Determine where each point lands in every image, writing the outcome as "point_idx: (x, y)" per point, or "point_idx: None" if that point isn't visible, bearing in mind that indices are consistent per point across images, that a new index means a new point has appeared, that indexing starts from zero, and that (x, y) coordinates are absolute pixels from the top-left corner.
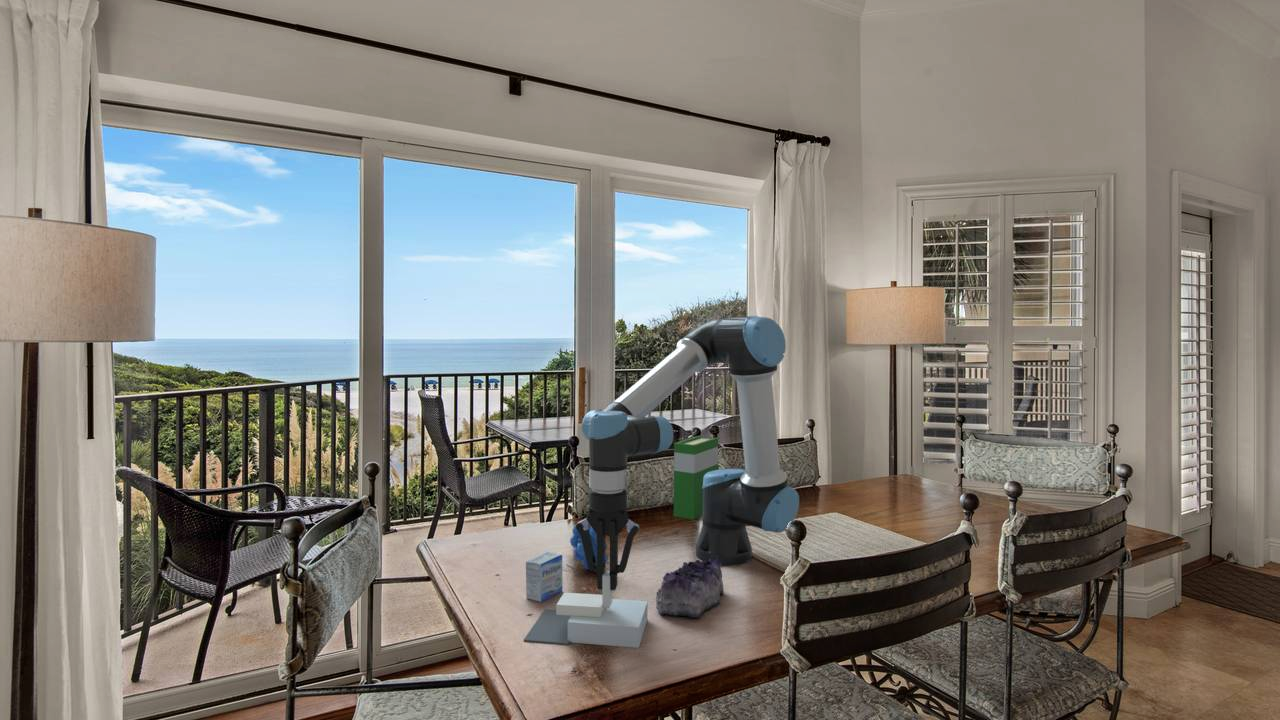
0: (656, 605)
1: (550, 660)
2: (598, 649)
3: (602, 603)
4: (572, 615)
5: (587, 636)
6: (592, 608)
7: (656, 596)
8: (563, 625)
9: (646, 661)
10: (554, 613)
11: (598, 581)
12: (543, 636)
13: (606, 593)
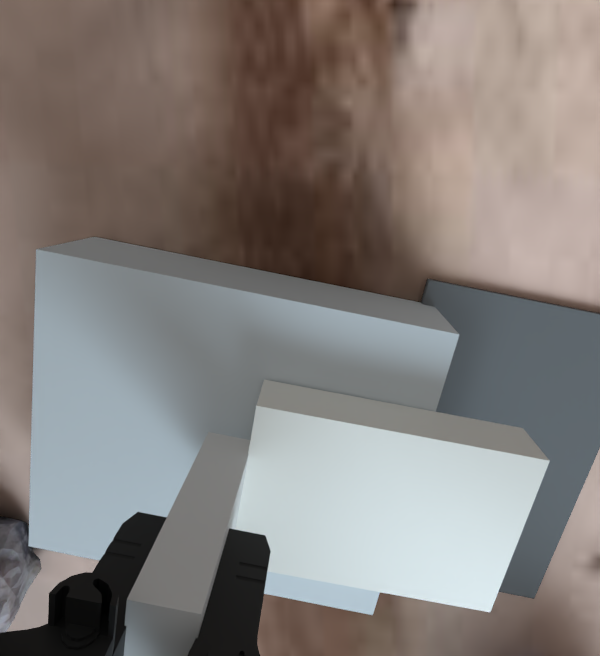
0: (33, 574)
1: (522, 123)
2: (283, 230)
3: (247, 453)
4: (428, 411)
5: (338, 294)
6: (311, 409)
7: (3, 605)
8: None
9: (47, 102)
10: None
11: (255, 585)
12: (552, 351)
13: (205, 490)
